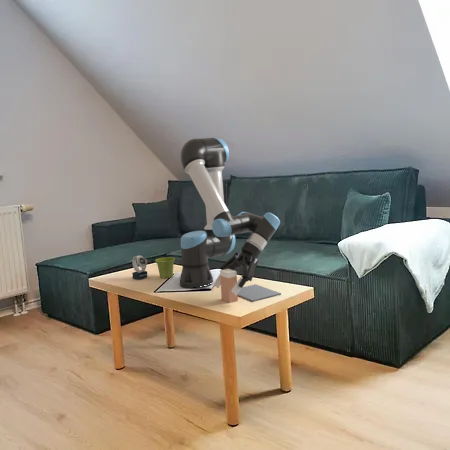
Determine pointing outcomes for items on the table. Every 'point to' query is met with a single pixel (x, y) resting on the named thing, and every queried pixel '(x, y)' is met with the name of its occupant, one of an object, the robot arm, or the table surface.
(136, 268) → the watch
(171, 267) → the plant pot
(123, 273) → the table surface
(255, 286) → the slate mat
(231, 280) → the block
